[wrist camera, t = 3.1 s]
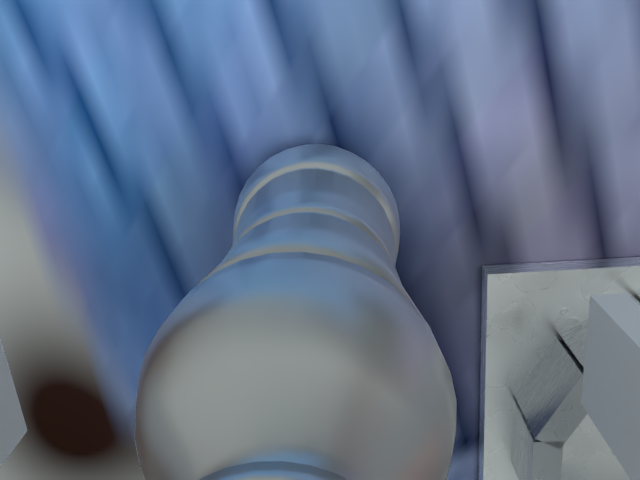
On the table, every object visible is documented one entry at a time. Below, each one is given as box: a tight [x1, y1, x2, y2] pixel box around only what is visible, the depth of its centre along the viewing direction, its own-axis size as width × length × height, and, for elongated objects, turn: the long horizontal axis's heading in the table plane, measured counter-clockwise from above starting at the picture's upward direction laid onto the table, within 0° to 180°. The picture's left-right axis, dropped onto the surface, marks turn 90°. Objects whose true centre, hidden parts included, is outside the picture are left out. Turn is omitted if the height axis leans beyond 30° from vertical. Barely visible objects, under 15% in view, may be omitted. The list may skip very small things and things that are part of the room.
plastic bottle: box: [135, 144, 457, 480], centre depth 16 cm, size 6×7×20 cm
